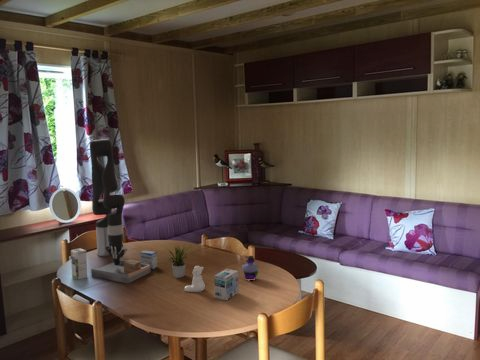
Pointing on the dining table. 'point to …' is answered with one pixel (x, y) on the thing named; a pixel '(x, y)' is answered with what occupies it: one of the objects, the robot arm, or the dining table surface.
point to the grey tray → (120, 272)
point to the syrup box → (79, 264)
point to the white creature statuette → (196, 281)
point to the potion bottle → (250, 268)
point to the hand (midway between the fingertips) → (116, 264)
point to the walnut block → (131, 266)
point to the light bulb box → (226, 284)
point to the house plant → (178, 262)
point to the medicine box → (149, 258)
